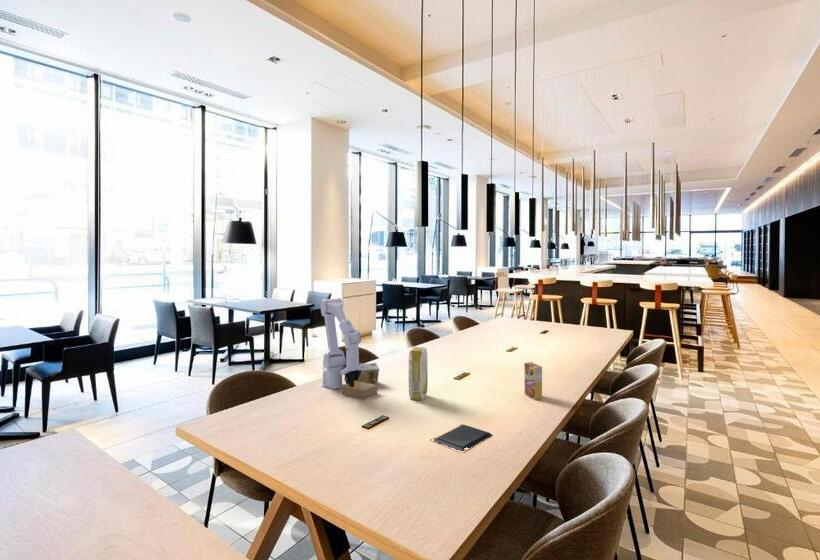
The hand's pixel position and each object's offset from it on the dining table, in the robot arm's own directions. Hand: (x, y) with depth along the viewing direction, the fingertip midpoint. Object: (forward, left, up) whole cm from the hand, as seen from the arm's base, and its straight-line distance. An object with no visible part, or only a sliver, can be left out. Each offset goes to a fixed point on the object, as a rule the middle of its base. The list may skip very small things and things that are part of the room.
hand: (352, 386), depth 206 cm
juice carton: (+26, +16, -5) cm, 31 cm away
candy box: (+70, +46, -5) cm, 84 cm away
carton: (0, +5, -5) cm, 7 cm away
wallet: (+63, -12, -6) cm, 65 cm away
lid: (0, +4, -1) cm, 4 cm away
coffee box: (-4, +23, 0) cm, 24 cm away
